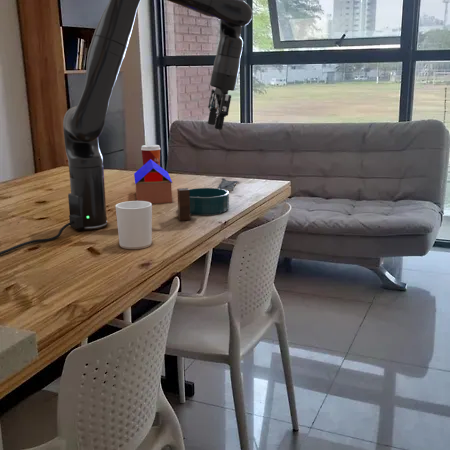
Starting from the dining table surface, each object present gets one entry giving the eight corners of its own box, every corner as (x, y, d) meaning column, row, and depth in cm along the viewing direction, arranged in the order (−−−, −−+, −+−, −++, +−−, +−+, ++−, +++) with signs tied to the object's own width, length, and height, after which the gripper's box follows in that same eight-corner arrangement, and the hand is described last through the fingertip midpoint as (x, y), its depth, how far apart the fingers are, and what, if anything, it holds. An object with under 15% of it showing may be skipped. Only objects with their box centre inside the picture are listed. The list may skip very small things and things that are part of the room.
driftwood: (233, 193, 208) (233, 187, 208) (214, 192, 209) (214, 186, 209) (239, 182, 228) (239, 177, 228) (221, 182, 229) (221, 177, 228)
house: (136, 204, 193) (134, 168, 190) (135, 191, 212) (133, 159, 209) (173, 202, 195) (171, 167, 192) (168, 190, 214) (167, 158, 211)
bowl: (201, 218, 174) (201, 200, 173) (171, 209, 185) (171, 192, 184) (238, 210, 184) (238, 192, 182) (208, 202, 194) (208, 186, 193)
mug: (156, 248, 146) (154, 207, 143) (120, 251, 144) (117, 210, 141) (149, 236, 156) (147, 198, 154) (114, 239, 154) (112, 200, 151)
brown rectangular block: (190, 220, 172) (189, 190, 170) (180, 221, 171) (179, 190, 169) (188, 217, 175) (187, 188, 173) (178, 218, 174) (177, 188, 172)
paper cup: (160, 183, 227) (159, 146, 224) (140, 183, 227) (139, 147, 224) (163, 179, 235) (161, 144, 231) (143, 179, 235) (142, 144, 231)
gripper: (207, 68, 179) (197, 121, 183) (219, 71, 166) (208, 128, 170) (230, 72, 181) (220, 125, 185) (244, 76, 168) (232, 132, 172)
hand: (214, 126), depth 178 cm, fingers open, 8 cm apart
